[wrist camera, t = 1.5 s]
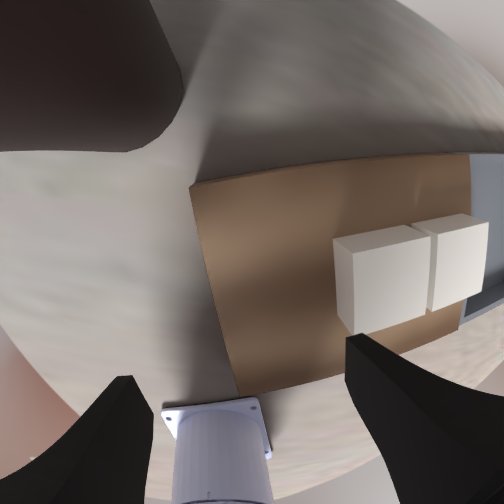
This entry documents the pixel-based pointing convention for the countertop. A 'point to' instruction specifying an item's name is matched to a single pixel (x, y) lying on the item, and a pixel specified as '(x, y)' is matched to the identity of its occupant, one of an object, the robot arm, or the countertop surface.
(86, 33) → the bottle
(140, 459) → the robot arm
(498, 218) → the box
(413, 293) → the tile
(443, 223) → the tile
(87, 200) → the countertop surface
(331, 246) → the walnut board
